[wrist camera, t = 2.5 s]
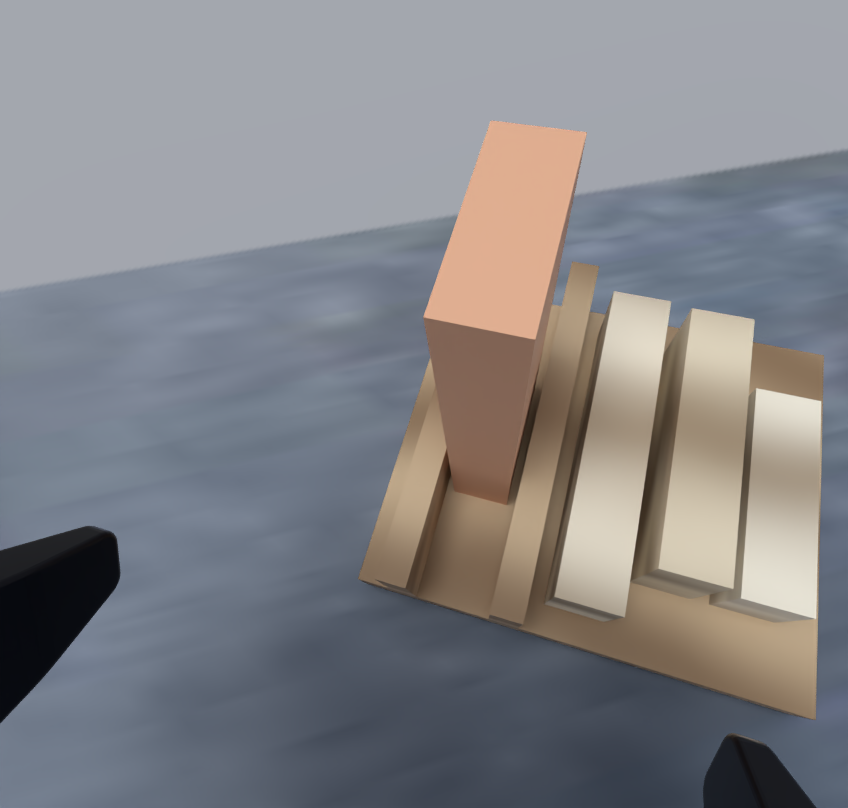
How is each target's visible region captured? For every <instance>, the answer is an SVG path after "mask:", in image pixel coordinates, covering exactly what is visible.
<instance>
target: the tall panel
mask: <svg viewBox="0 0 848 808" xmlns="http://www.w3.org/2000/svg"><path fill="white" fill-rule="evenodd" d="M586 134H587V132H580V131H572V130H564V129H556V128H547V127H540V126H531V125H523V124H514V123H507V122H499V121H491V122H490V125H489V127H488V130H487V133H486V136H485V139H484V142H483V145H482V148H481V151H480V154H479V157H478V159H477V163H476V166H475V168H474V171H473V174H472V177H471V180H470V183H469V186H468V189H467V192H466V194H465V198H464V201H463V203H462V206H461V209H460V212H459V215H458V218H457V221H456V224H455V227H454V229H453V232H452V235H451V238H450V241H449V244H448V247H447V250H446V253H445V256H444V259H443V262H442V264H441V267H440V270H439V273H438V276H437V279H436V282H435V285H434V288H433V291H432V294H431V297H430V299H429V302H428V305H427V308H426V311H425V314H424V317H423V318H424V323H425V329H426V335H427V340H428V346H429V351H430V357H431V363H432V368H433V374H434V379H435V385H436V391H437V396H438V402H439V408H440V413H441V419H442V424H443V430H444V436H445V441H446V447H447V452H448V458H449V464H450V469H451V475H452V481H453V486H454V491H455V492H458V493H462V494H466V495H470V496H474V497H477V498H481V499H485V500H489V501H492V502H496V503H500V504H504V505H507V502H508V498H509V493H510V489H511V485H512V481H513V477H514V473H515V468H516V464H517V460H518V456H519V452H520V448H521V444H522V439H523V435H524V431H525V427H526V423H527V419H528V414H529V410H530V406H531V402H532V398H533V394H534V389H535V385H536V380H537V375H538V370H539V365H540V360H541V356H542V351H543V346H544V341H545V336H546V331H547V326H548V321H549V316H550V311H551V306H552V301H553V297H554V292H555V287H556V282H557V277H558V272H559V267H560V262H561V257H562V252H563V247H564V243H565V238H566V233H567V228H568V223H569V218H570V213H571V208H572V203H573V198H574V193H575V188H576V184H577V179H578V174H579V168H580V164H581V159H582V154H583V149H584V144H585V139H586Z"/></svg>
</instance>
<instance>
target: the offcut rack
mask: <svg viewBox="0 0 848 808" xmlns="http://www.w3.org/2000/svg"><path fill="white" fill-rule="evenodd" d="M598 269H599V266H595V265H589V264H583V263H577V262H572V265H571V269H570V273H569V278H568V282H567V286H566V290H565V295H564V299H563V303H562V306H557V305H552V306H551V311H550V316H549V321H548V326H547V331H546V336H545V341H544V346H543V351H542V356H541V360H540V365H539V370H538V375H537V380H536V385H535V389H534V394H533V398H532V402H531V406H530V410H529V414H528V419H527V423H526V427H525V431H524V435H523V439H522V444H521V448H520V452H519V456H518V460H517V464H516V468H515V473H514V477H513V481H512V485H511V489H510V493H509V498H508V502H507V505H504V504H500V503H496V502H492V501H489V500H485V499H481V498H477V497H474V496H470V495H466V494H462V493H458V492H455V491H454V486H453V481H452V475H451V469H450V464H449V458H448V452H447V447H446V441H445V436H444V430H443V424H442V419H441V413H440V408H439V402H438V396H437V391H436V385H435V379H434V374H433V368H432V363H431V357H430V360H429V363H428V366H427V369H426V372H425V375H424V378H423V381H422V385H421V388H420V391H419V394H418V397H417V400H416V403H415V406H414V409H413V412H412V415H411V418H410V421H409V424H408V427H407V430H406V433H405V437H404V440H403V443H402V446H401V449H400V452H399V455H398V458H397V461H396V464H395V467H394V470H393V473H392V476H391V479H390V482H389V485H388V489H387V492H386V495H385V498H384V501H383V504H382V507H381V510H380V513H379V516H378V519H377V522H376V525H375V528H374V531H373V534H372V538H371V541H370V544H369V547H368V550H367V553H366V556H365V559H364V562H363V565H362V568H361V571H360V574H359V577H358V579H359V580H361V581H363V582H365V583H367V584H370V585H373V586H377V587H380V588H383V589H386V590H389V591H393V592H396V593H399V594H402V595H406V596H409V597H412V598H415V599H419V600H422V601H425V602H428V603H431V604H435V605H438V606H441V607H444V608H448V609H451V610H454V611H457V612H461V613H464V614H467V615H470V616H473V617H477V618H480V619H483V620H486V621H490V622H493V623H496V624H499V625H502V626H506V627H509V628H512V629H515V630H519V631H522V632H525V633H528V634H532V635H535V636H538V637H541V638H544V639H548V640H551V641H554V642H557V643H561V644H564V645H567V646H570V647H573V648H577V649H580V650H583V651H586V652H590V653H593V654H596V655H599V656H603V657H606V658H609V659H612V660H615V661H619V662H622V663H625V664H628V665H632V666H635V667H638V668H641V669H644V670H648V671H651V672H654V673H657V674H661V675H664V676H667V677H670V678H674V679H677V680H680V681H683V682H686V683H690V684H693V685H696V686H699V687H703V688H706V689H709V690H712V691H715V692H719V693H722V694H725V695H728V696H732V697H735V698H738V699H741V700H745V701H748V702H751V703H754V704H757V705H761V706H764V707H767V708H770V709H774V710H777V711H780V712H783V713H787V714H790V715H794V716H799V717H803V718H808V719H812V720H816V677H817V633H818V589H819V544H820V500H821V456H822V412H823V368H824V355H818V354H813V353H808V352H802V351H797V350H792V349H786V348H781V347H776V346H770V345H765V344H760V343H754V342H753V333H754V319H749V318H743V317H738V316H732V315H727V314H721V313H715V312H710V311H704V310H699V309H693V308H692V309H691V311H690V313H689V314H688V316H687V317H686V319H685V321H684V322H683V324H682V326H681V327H680V329H679V328H674V327H669V326H668V320H669V313H670V306H671V301H665V300H660V299H654V298H649V297H643V296H637V295H632V294H626V293H621V292H615V291H614V293H613V295H612V298H611V301H610V304H609V306H608V309H607V312H606V314H599V313H594V312H590V307H591V302H592V298H593V293H594V288H595V283H596V279H597V274H598Z"/></svg>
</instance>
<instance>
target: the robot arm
mask: <svg viewBox="0 0 848 808" xmlns="http://www.w3.org/2000/svg"><path fill="white" fill-rule="evenodd" d="M119 579H120V563H119V553H118V544H117V538H116V536H115V535H114V533H112V532H110V531H107V530H104V529H101V528H98V527H95V526H85V527H81V528H78V529H74V530H71V531H67V532H64V533H60V534H57V535H53V536H50V537H46V538H43V539H39V540H36V541H32V542H29V543H25V544H22V545H18V546H15V547H11V548H8V549H4V550H0V723H1V722H2V721H3V720H4V719H5V718H6V717H7V716H8V715H9V714H10V713H11V712H12V710H13V709H14V708H15V707H16V706H17V705H18V704H19V703H20V702H21V701H22V700H23V699H24V698H25V697H26V696H27V695H28V694H29V693H30V691H31V690H32V689H33V688H34V687H35V686H36V685H37V684H38V683H39V682H40V681H41V679H42V678H43V677H44V676H45V675H46V674H47V673H48V671H49V670H50V669H51V668H52V667H53V665H54V664H55V663H56V662H57V661H58V659H59V658H60V657H61V656H62V654H63V653H64V652H65V651H66V649H67V648H68V647H69V646H70V644H71V643H72V642H73V641H74V639H75V638H76V637H77V636H78V634H79V633H80V632H81V631H82V629H83V628H84V627H85V626H86V625H87V623H88V622H89V621H90V620H91V618H92V617H93V616H94V615H95V613H96V612H97V611H98V610H99V608H100V607H101V606H102V605H103V603H104V602H105V601H106V600H107V598H108V597H109V596H110V595H111V593H112V592H113V591H114V589H115V588H116V586H117V584H118V582H119ZM703 801H704V808H816V806H815V805H814V804H813V803H812V801H811V800H810V799H809V797H808V796H807V795H806V794H805V792H804V791H803V790H802V788H801V787H800V786H799V785H798V783H797V782H796V781H795V779H794V778H793V777H792V776H791V774H790V773H789V772H788V770H787V769H786V768H785V766H784V765H783V764H782V763H781V761H780V760H779V759H778V757H777V756H776V755H775V754H774V752H773V751H772V750H771V749H770V748H769V747H768V746H767V745H766V744H764V743H762V742H760V741H757V740H754V739H751V738H748V737H745V736H741V735H738V734H735V733H731V734H728V735H727V736H726V737H725V738H724V740H723V742H722V744H721V746H720V747H719V749H718V751H717V753H716V755H715V757H714V759H713V761H712V763H711V765H710V767H709V769H708V771H707V773H706V776H705V780H704V786H703Z"/></svg>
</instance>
